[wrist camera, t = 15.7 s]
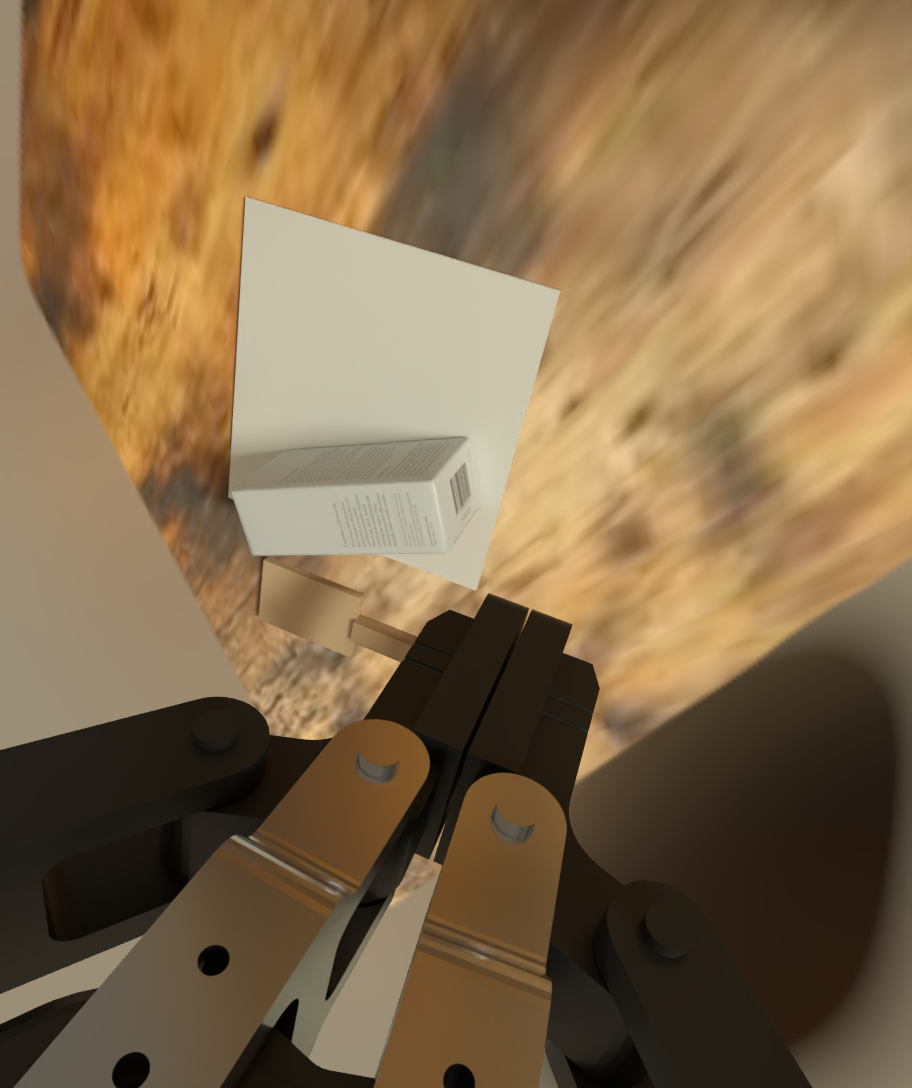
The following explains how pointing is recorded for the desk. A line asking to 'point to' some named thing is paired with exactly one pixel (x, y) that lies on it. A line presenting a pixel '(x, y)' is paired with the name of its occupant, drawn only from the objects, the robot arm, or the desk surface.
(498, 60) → the desk surface
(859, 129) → the desk surface
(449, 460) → the skincare box
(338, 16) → the desk surface
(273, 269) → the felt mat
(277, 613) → the wooden turner
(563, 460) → the desk surface
